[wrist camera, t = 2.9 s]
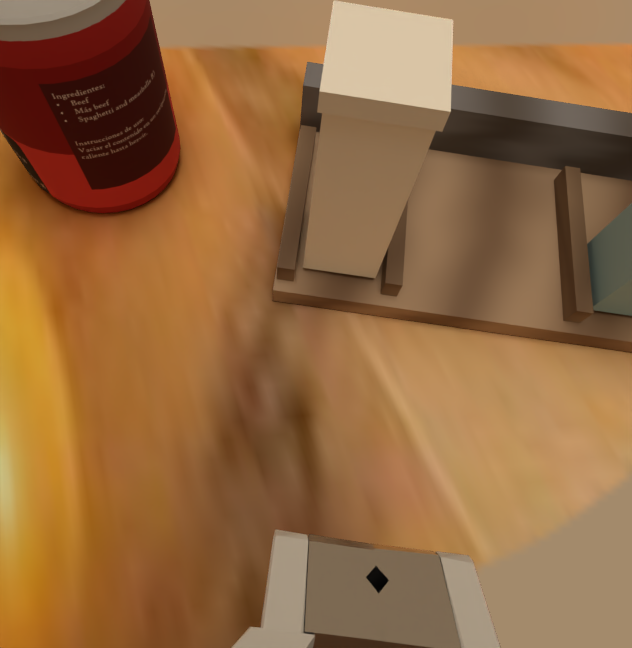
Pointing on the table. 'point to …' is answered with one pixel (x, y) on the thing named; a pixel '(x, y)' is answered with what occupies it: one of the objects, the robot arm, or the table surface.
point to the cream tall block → (374, 130)
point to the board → (484, 221)
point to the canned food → (87, 100)
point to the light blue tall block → (612, 266)
